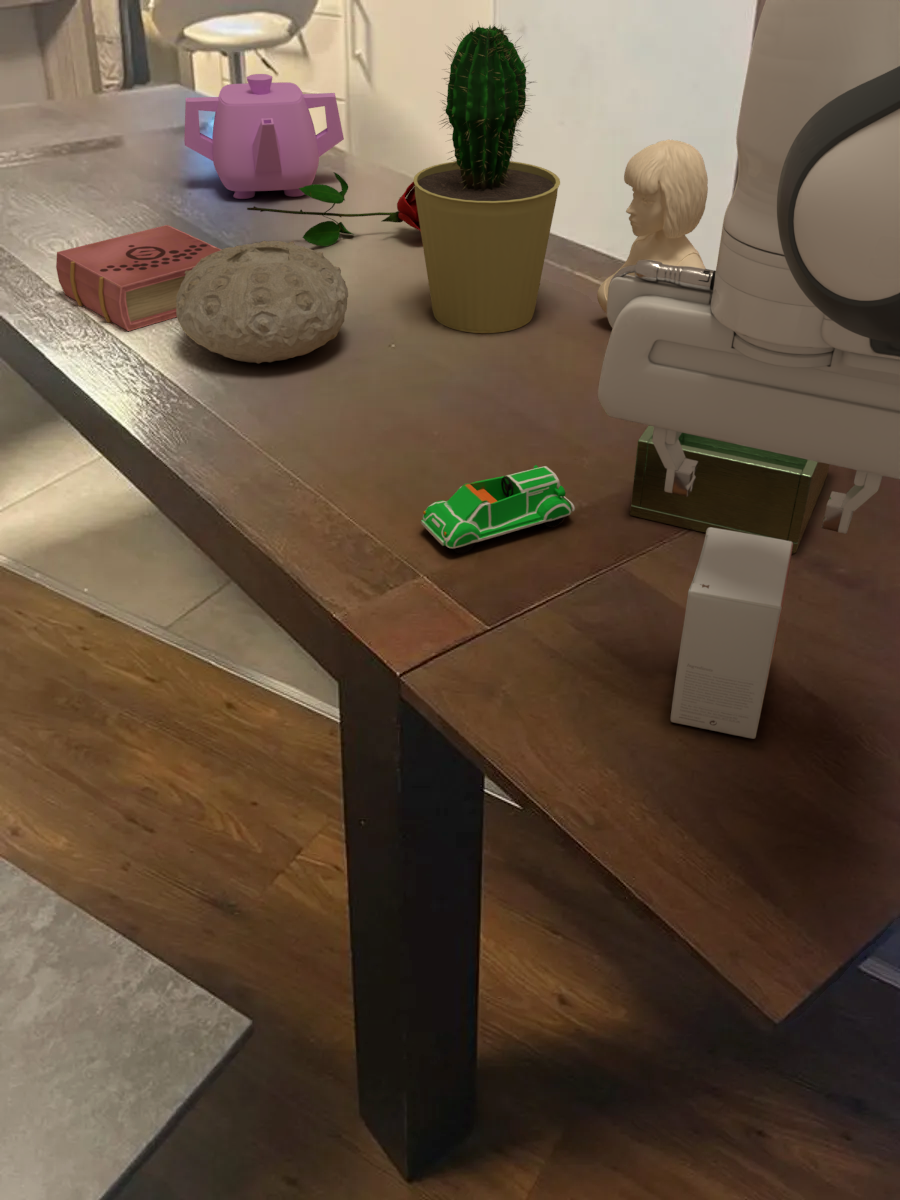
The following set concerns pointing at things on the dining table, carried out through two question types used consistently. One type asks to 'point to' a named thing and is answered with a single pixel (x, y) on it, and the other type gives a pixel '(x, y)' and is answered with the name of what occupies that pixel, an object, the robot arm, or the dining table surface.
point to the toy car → (497, 508)
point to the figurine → (664, 206)
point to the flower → (331, 231)
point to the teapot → (263, 135)
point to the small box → (730, 631)
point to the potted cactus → (485, 196)
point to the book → (131, 274)
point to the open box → (730, 489)
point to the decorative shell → (262, 301)
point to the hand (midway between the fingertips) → (755, 508)
